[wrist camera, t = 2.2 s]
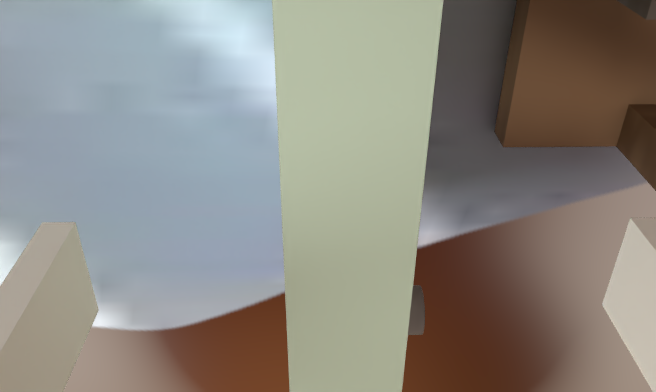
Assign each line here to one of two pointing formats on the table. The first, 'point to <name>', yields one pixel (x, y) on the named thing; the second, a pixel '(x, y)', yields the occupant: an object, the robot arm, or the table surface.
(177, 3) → the table surface
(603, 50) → the cabinet frame
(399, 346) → the beige flat panel
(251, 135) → the table surface
